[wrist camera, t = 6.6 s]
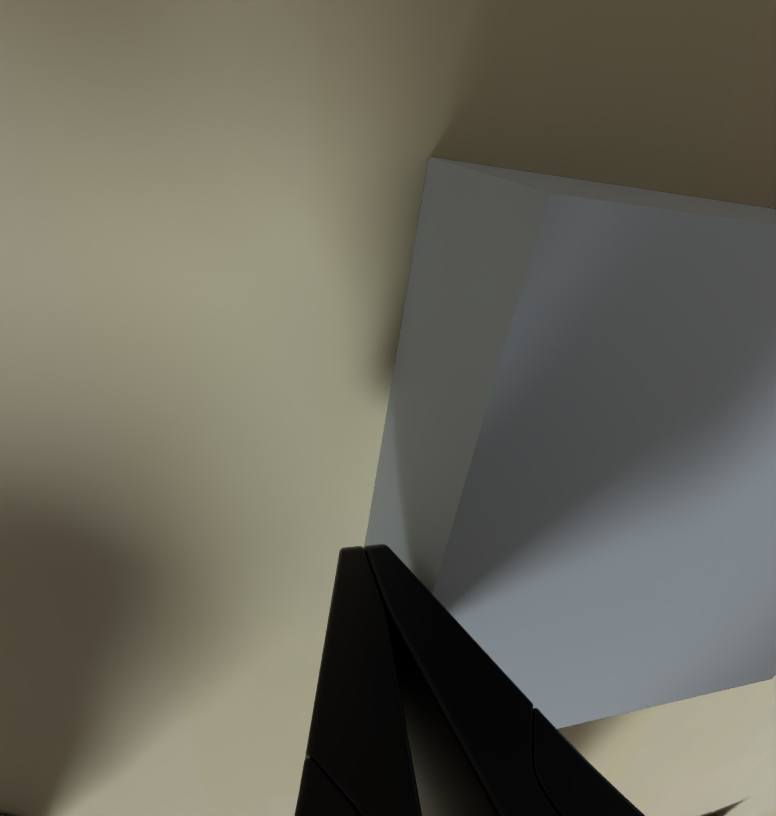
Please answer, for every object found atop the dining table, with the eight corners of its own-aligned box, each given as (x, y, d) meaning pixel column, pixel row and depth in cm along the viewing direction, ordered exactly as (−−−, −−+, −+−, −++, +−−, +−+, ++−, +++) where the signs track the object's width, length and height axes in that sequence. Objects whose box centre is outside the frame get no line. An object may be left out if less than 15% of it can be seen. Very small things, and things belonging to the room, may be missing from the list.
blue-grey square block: (672, 570, 17) (771, 679, 14) (349, 613, 14) (380, 770, 11) (899, 226, 11) (1167, 279, 8) (423, 154, 8) (549, 193, 5)
